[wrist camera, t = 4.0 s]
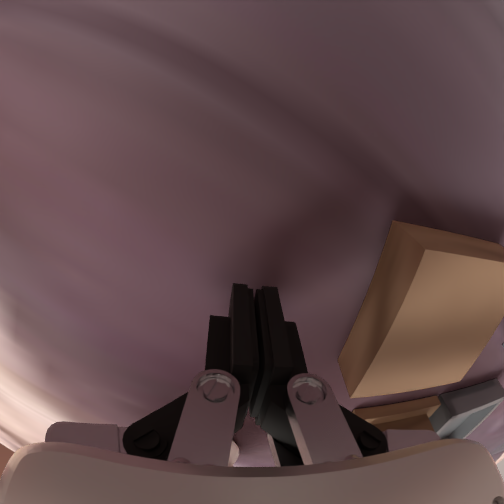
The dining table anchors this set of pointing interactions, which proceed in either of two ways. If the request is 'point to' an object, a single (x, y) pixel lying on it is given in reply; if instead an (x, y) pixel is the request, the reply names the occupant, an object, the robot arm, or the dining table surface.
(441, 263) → the tan wooden block
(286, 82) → the dining table surface
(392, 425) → the holder
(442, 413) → the tray
